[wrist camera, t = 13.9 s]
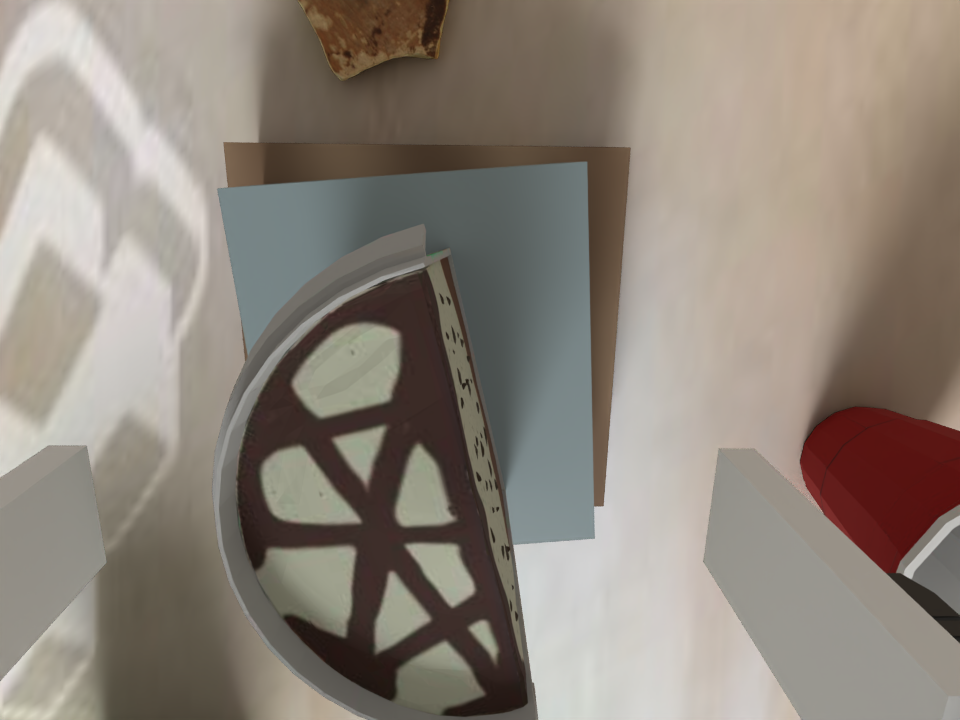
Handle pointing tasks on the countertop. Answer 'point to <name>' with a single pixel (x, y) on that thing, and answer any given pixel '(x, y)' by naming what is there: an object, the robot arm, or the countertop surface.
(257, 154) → the base slab
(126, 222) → the countertop surface
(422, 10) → the toasted sandwich half
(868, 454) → the plastic cup
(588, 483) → the top slab
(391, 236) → the food container
